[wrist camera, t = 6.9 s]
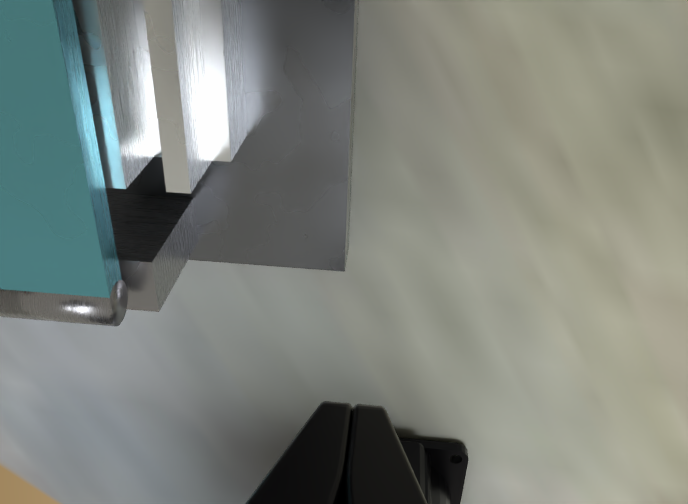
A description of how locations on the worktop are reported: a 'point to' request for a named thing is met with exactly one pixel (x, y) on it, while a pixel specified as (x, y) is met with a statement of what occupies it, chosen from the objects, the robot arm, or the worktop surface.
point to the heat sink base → (286, 144)
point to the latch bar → (52, 176)
